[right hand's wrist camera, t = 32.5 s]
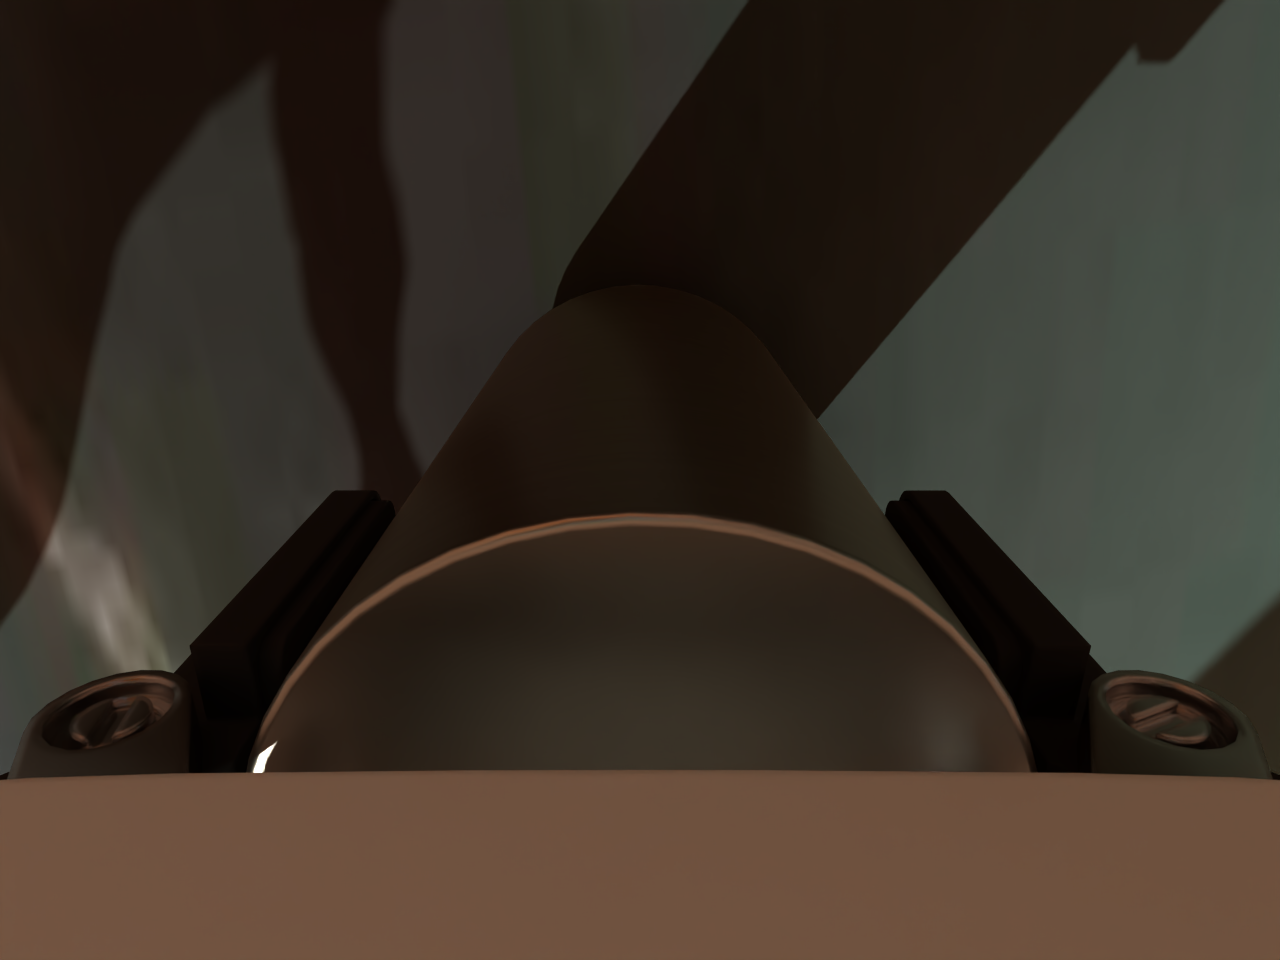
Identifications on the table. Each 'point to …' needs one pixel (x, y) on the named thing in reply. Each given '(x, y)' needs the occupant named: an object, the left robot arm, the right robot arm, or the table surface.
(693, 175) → the table surface
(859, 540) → the can
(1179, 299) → the table surface
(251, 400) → the table surface
